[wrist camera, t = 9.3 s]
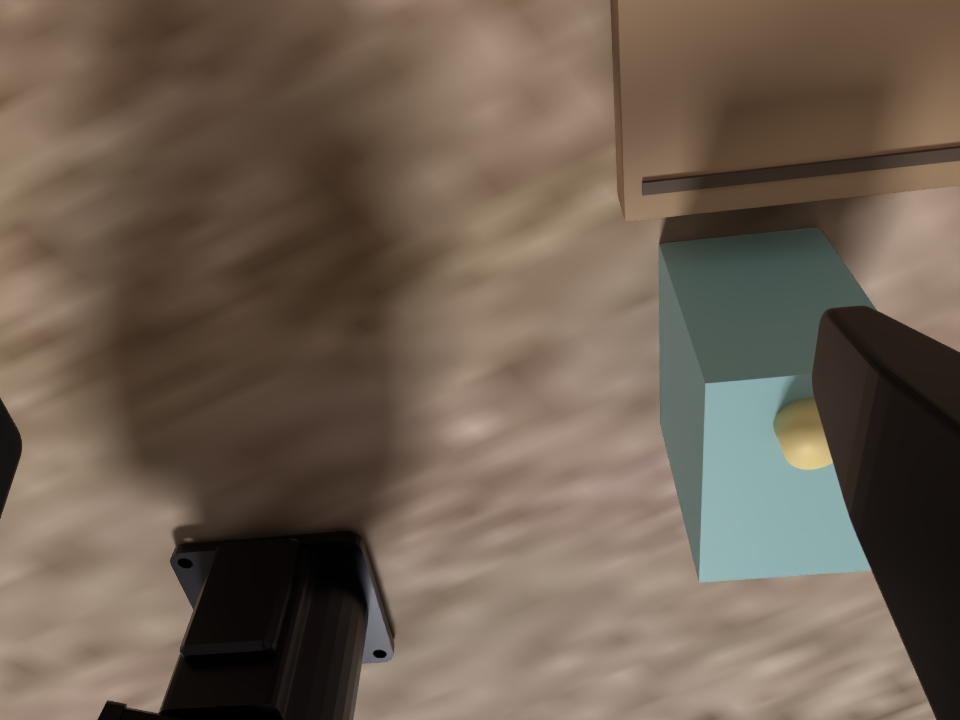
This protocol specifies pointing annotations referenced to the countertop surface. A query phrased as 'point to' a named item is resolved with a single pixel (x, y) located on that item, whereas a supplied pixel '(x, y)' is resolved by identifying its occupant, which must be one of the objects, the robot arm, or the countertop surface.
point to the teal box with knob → (753, 403)
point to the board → (782, 101)
